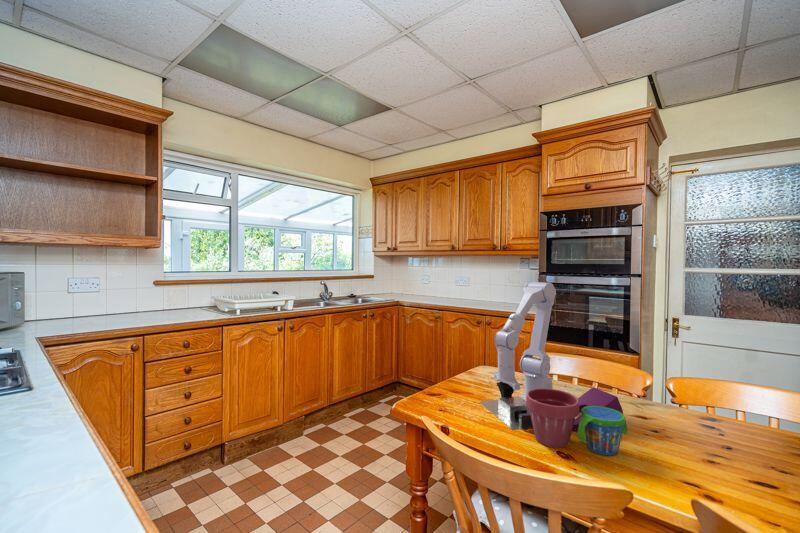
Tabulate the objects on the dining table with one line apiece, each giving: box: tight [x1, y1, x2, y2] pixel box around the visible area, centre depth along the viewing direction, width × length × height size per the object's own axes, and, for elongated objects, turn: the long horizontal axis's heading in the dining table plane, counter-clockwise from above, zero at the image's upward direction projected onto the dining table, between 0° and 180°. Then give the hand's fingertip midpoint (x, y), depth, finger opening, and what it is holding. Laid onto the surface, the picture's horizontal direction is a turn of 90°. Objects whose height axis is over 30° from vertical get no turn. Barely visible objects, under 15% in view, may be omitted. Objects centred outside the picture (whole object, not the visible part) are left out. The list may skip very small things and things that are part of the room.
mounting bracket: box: [572, 386, 624, 431], centre depth 117 cm, size 9×8×18 cm
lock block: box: [497, 395, 530, 420], centre depth 124 cm, size 8×8×5 cm
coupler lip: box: [478, 399, 533, 431], centre depth 125 cm, size 14×24×4 cm, turn 13°
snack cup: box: [576, 406, 628, 456], centre depth 101 cm, size 16×10×10 cm
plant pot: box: [525, 388, 580, 449], centre depth 106 cm, size 14×14×13 cm
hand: (506, 403), depth 130 cm, fingers closed
